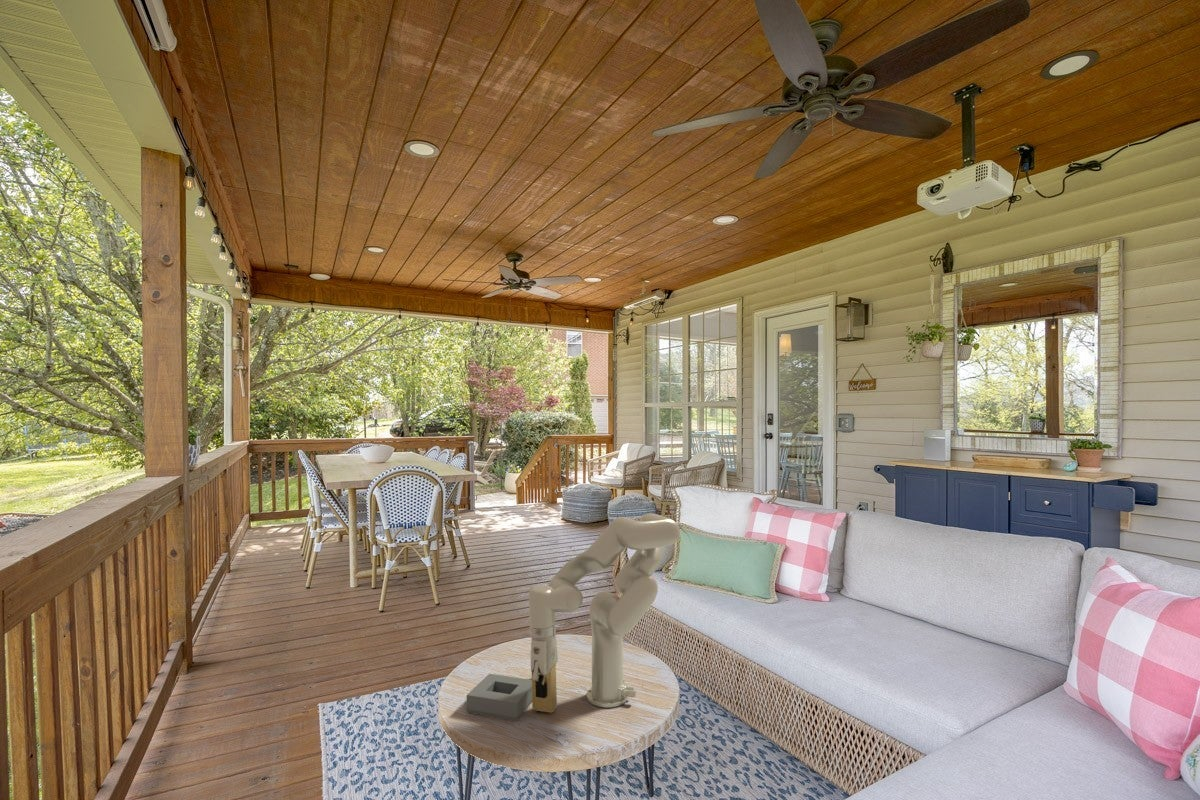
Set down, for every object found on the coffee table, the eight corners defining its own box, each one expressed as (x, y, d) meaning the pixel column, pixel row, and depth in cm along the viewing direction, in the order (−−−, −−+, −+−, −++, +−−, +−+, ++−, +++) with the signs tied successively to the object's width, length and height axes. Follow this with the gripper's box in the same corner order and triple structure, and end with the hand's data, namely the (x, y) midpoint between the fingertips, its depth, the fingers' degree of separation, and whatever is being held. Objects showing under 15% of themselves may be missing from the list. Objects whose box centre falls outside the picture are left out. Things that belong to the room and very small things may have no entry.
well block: (536, 697, 169) (536, 680, 169) (516, 721, 156) (516, 703, 156) (489, 689, 174) (489, 673, 174) (466, 712, 160) (466, 694, 160)
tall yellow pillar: (556, 705, 162) (555, 664, 162) (551, 712, 158) (550, 670, 158) (537, 702, 163) (536, 662, 164) (532, 709, 160) (531, 668, 160)
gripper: (543, 643, 152) (545, 710, 152) (564, 620, 168) (566, 680, 168) (518, 640, 154) (520, 706, 154) (541, 618, 170) (543, 678, 170)
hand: (544, 692), depth 161 cm, fingers closed on tall yellow pillar, 4 cm apart
